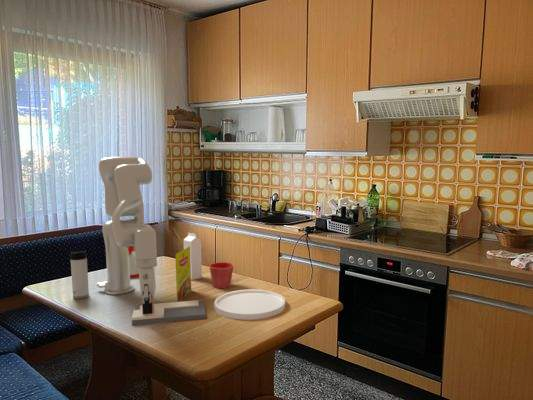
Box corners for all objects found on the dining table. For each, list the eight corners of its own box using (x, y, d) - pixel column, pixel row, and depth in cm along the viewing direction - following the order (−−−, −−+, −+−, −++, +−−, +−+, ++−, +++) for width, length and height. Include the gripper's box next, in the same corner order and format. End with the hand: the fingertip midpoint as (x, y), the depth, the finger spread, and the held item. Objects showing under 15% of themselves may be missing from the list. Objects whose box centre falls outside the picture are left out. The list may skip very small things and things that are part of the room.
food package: (178, 302, 173) (176, 254, 170) (175, 302, 173) (174, 254, 171) (192, 290, 188) (190, 246, 185) (190, 290, 188) (188, 245, 186)
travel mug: (73, 300, 176) (70, 253, 174) (72, 295, 182) (69, 250, 180) (89, 297, 179) (86, 251, 177) (88, 293, 185) (85, 248, 183)
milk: (192, 280, 202) (190, 235, 200) (184, 277, 206) (182, 233, 204) (202, 277, 207) (200, 232, 204) (194, 275, 211) (192, 231, 208)
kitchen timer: (148, 270, 221) (147, 241, 219) (142, 278, 207) (141, 247, 206) (121, 270, 220) (120, 242, 219) (113, 278, 207) (111, 248, 205)
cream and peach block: (131, 320, 151) (131, 301, 150) (133, 312, 158) (132, 294, 157) (163, 317, 153) (163, 298, 152) (164, 310, 160) (163, 292, 159)
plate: (252, 327, 149) (252, 320, 148) (199, 308, 167) (199, 302, 166) (299, 304, 170) (299, 298, 169) (248, 290, 188) (248, 285, 188)
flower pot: (223, 280, 201) (222, 260, 200) (238, 285, 193) (238, 264, 192) (205, 285, 194) (204, 265, 193) (220, 291, 186) (219, 269, 185)
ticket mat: (132, 325, 151) (131, 319, 150) (135, 309, 165) (135, 304, 165) (205, 318, 156) (205, 312, 156) (202, 303, 171) (202, 298, 170)
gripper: (156, 267, 146) (158, 318, 148) (157, 255, 162) (159, 301, 164) (133, 269, 144) (135, 320, 146) (137, 257, 161) (139, 302, 163)
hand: (148, 309), depth 155 cm, fingers open, 6 cm apart
